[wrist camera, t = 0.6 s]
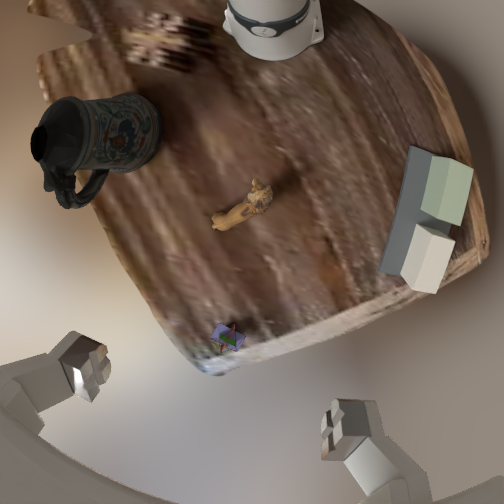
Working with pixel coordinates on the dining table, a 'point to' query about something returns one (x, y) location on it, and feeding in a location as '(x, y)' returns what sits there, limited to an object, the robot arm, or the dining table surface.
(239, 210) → the lion figurine
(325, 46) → the dining table surface
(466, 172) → the pale green prism
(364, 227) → the dining table surface
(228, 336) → the geometric puzzle
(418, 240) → the beige eraser-shaped brick
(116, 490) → the robot arm
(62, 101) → the beer stein
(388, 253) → the slate board
